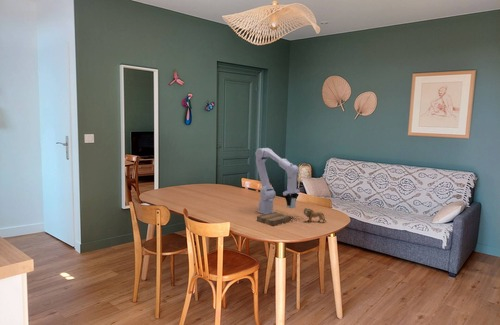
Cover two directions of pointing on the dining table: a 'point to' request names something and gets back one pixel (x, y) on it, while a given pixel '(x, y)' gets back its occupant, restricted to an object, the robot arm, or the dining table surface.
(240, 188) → the dining table surface
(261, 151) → the robot arm
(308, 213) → the lion figurine
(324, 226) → the dining table surface
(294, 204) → the grey block
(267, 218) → the walnut plinth
